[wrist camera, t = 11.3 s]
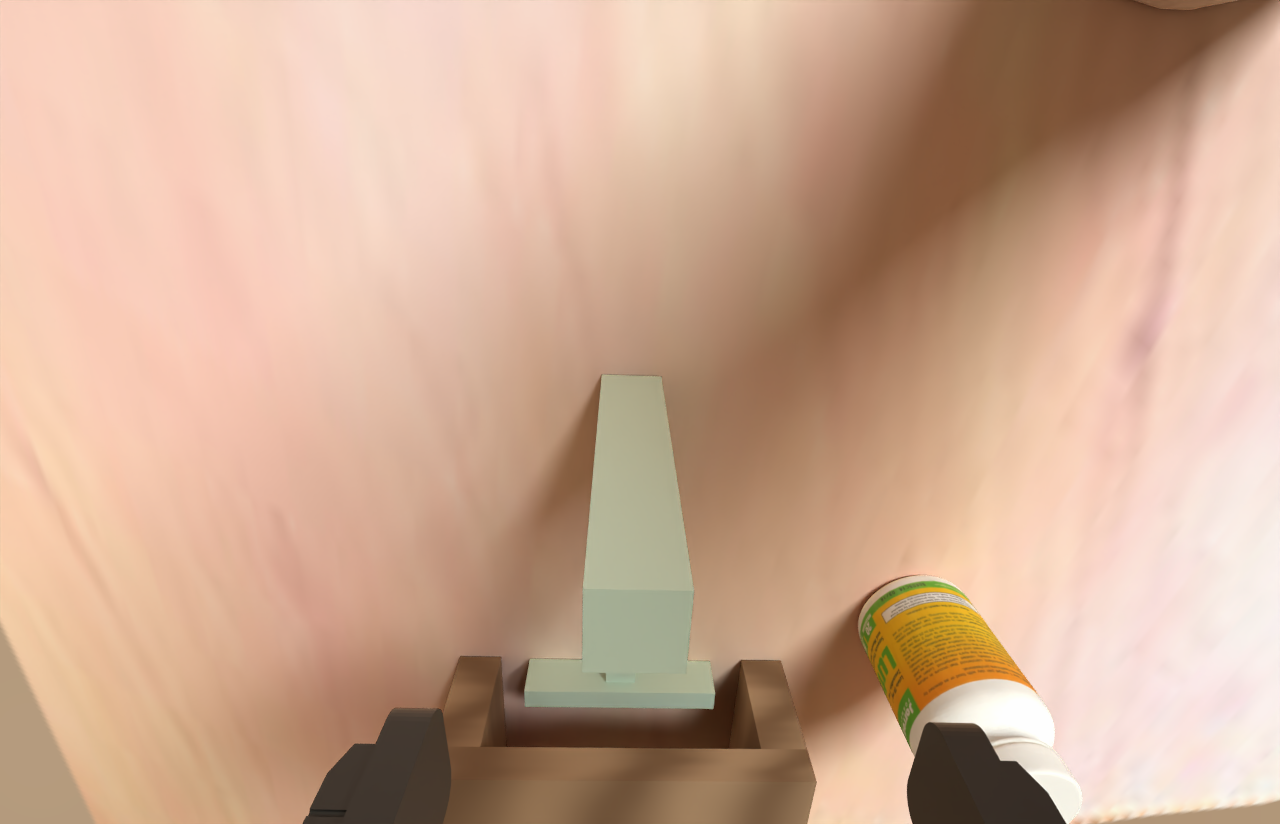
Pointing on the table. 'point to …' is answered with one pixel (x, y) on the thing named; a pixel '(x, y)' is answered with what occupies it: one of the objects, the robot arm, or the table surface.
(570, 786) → the wooden arch
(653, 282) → the table surface
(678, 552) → the rake
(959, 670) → the supplement bottle
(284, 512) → the table surface
